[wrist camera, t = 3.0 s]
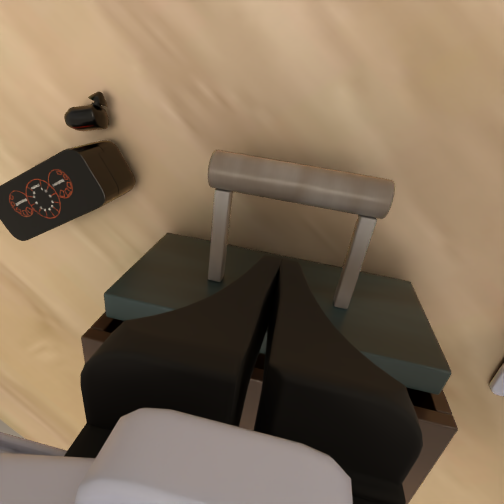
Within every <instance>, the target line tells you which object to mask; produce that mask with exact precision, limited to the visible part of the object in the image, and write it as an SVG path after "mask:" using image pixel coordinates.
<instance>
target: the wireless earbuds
mask: <svg viewBox="0 0 504 504" xmlns="http://www.w3.org/2000/svg"><path fill="white" fill-rule="evenodd" d="M88 98H89V99H91V100H93V101H94V103H92V105H88V106H79V107H72V108H70V109H69V110H68V111H67V112H66V114H65V116H64V117H65V122H66V124H67V125H68V126H69V127H71V128H73V129H75V130H78V131H90V130H99V129H106V128H107V127H108V125H109V119H108V115H107V112H106V110H105V109H104V108H103V107H102V106H101V105H103V106H106V107H107V103H106V101H105V98H104V96H103V94H102V93H101V92H96V93H94V94H92V95H91V96H89V97H88ZM134 185H135V178H134V175H133V173H132V171H131V170H130V168H129V166H128V164H127V163H126V161H125V159H124V157H123V156H122V154H121V152H120V150H119V149H118V147H117V146H116V145H115V144H114V143H113V142H111V141H107V140H102V141H98V142H94V143H90V144H86V145H82V146H78V147H74V148H70V149H66V150H64V151H62V152H60V153H58V154H56V155H55V156H53V157H51V158H49V159H47V160H46V161H44V162H42V163H40V164H38V165H37V166H35V167H33V168H31V169H30V170H28V171H26V172H24V173H22V174H21V175H19V176H17V177H15V178H13V179H12V180H10V181H8V182H6V183H4V184H3V185H1V186H0V220H1V221H2V222H3V224H4V225H5V226H6V228H7V229H8V230H9V232H10V233H11V234H12V235H13V236H14V237H15V238H16V239H18V240H21V241H26V240H29V239H31V238H33V237H35V236H38V235H40V234H42V233H44V232H46V231H49V230H51V229H53V228H55V227H57V226H60V225H62V224H64V223H66V222H68V221H71V220H73V219H75V218H77V217H79V216H82V215H84V214H86V213H88V212H90V211H93V210H95V209H97V208H99V207H101V206H103V205H105V204H107V203H109V202H110V201H112V200H114V199H116V198H118V197H119V196H121V195H123V194H125V193H127V192H129V191H130V190H131V189H132V188H133V187H134Z"/></svg>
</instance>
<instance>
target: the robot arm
mask: <svg viewBox="0 0 504 504" xmlns="http://www.w3.org/2000/svg"><path fill="white" fill-rule="evenodd" d="M267 328H268V332H267V342H266V353H265V363H264V374H263V382H262V389H261V395H260V400H259V405H258V410H257V415H256V420H255V425H254V430H253V431H252V430H248V429H245V428H241V427H239V425H240V420H241V416H242V412H243V407H244V403H245V399H246V394H247V390H248V386H249V383H250V379H251V376H252V373H253V370H254V367H255V364H256V361H257V358H258V355H259V352H260V349H261V346H262V343H263V340H264V337H265V334H266V331H267ZM489 386H490V389H491V391H492V392H493V393H494V394H496V395H500V396H504V363H503V364H502V366H501V367H500V369H499V370H498V372H497V373H496V375H495V376H494V378H493V379H492V381H491V382H490V384H489ZM81 390H82V396H83V402H84V408H85V414H86V420H87V424H86V425H85V426H84V428H83V429H82V431H81V432H80V434H79V435H78V437H77V438H76V439H75V441H74V442H73V444H72V445H71V447H70V448H69V450H68V451H66V450H62V449H59V448H55V447H52V446H48V445H45V444H41V443H38V442H34V441H30V440H27V439H23V438H20V437H16V436H13V435H9V434H5V433H2V432H0V504H406V499H405V494H404V490H403V485H402V483H403V481H404V480H405V478H406V476H407V475H408V473H409V472H410V470H411V468H412V467H413V465H414V464H415V462H416V460H417V459H418V457H419V455H420V452H421V449H422V447H423V439H422V431H421V428H420V425H419V421H418V418H417V415H416V412H415V409H414V407H413V404H412V402H411V399H410V397H409V395H408V393H407V390H406V387H405V385H403V384H402V383H400V382H399V381H398V380H396V379H395V378H393V377H392V376H390V375H389V374H388V373H386V372H385V371H383V370H382V369H381V368H379V367H378V366H376V365H375V364H374V363H373V362H371V361H370V360H369V359H368V358H367V357H366V356H364V355H363V354H362V353H361V352H360V351H358V350H357V349H356V348H355V347H354V346H353V345H352V344H351V343H350V342H349V341H348V340H347V339H346V338H345V337H344V336H343V335H342V334H341V333H340V332H339V331H338V330H337V328H336V327H335V326H334V325H333V324H332V322H331V321H330V320H329V319H328V317H327V316H326V315H325V313H324V312H323V310H322V309H321V307H320V305H319V304H318V302H317V301H316V299H315V297H314V295H313V293H312V291H311V289H310V287H309V285H308V283H307V281H306V278H305V276H304V273H303V271H302V267H301V264H300V263H299V262H298V261H293V260H288V259H283V258H278V257H274V256H269V255H264V256H263V257H261V258H260V260H259V261H258V262H257V263H256V264H255V265H253V266H252V267H251V268H250V269H249V270H248V271H247V272H245V273H244V274H243V275H242V276H241V277H239V278H238V279H237V280H235V281H234V282H232V283H231V284H229V285H228V286H227V287H225V288H223V289H222V290H220V291H218V292H217V293H215V294H213V295H211V296H209V297H207V298H205V299H202V300H200V301H198V302H195V303H193V304H190V305H188V306H185V307H182V308H179V309H176V310H172V311H169V312H165V313H161V314H157V315H153V316H147V317H142V318H137V319H132V320H125V321H124V322H123V323H122V324H121V325H120V326H119V327H118V328H117V329H116V330H115V331H113V332H112V333H111V335H110V336H109V337H108V338H107V339H106V340H105V341H104V342H103V344H102V345H101V346H100V347H99V348H98V350H97V351H96V352H95V353H94V354H93V355H92V357H91V358H90V359H89V360H88V361H87V363H86V364H85V366H84V368H83V370H82V372H81Z"/></svg>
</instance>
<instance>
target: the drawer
mask: <svg viewBox="0 0 504 504" xmlns="http://www.w3.org/2000/svg"><path fill="white" fill-rule="evenodd" d="M208 183H209V186H210V187H212V188H217V189H216V190H215V194H214V206H213V219H212V232H211V241H207V240H202V239H197V238H192V237H188V236H183V235H178V234H173V233H167V234H166V235H165V236H164V237H163V238H161V239H160V240H159V241H158V242H157V243H156V244H155V245H154V246H153V247H152V248H151V249H150V250H149V251H148V252H147V253H146V254H145V255H144V256H143V257H142V258H141V259H140V260H138V261H137V262H136V263H135V264H134V265H133V266H132V267H131V268H130V269H129V270H128V271H127V272H126V273H125V274H124V275H123V276H122V277H121V278H120V279H119V280H118V281H116V282H115V283H114V284H113V285H112V286H111V287H110V288H109V289H108V290H107V291H106V292H105V293H104V300H105V310H106V316H107V317H109V318H113V319H118V320H122V321H125V320H132V319H137V318H142V317H147V316H153V315H157V314H161V313H165V312H169V311H172V310H176V309H179V308H182V307H185V306H188V305H190V304H193V303H195V302H198V301H200V300H202V299H205V298H207V297H209V296H211V295H213V294H215V293H217V292H218V291H220V290H222V289H223V288H225V287H227V286H228V285H229V284H231V283H232V282H234V281H235V280H237V279H238V278H239V277H241V276H242V275H243V274H244V273H245V272H247V271H248V270H249V269H250V268H251V267H252V266H253V265H255V264H256V263H257V262H258V261H259V260H260V258H261V257H263V256H264V255H269V256H274V257H278V258H283V259H288V260H293V261H298V262H299V263H300V264H301V267H302V271H303V273H304V276H305V278H306V281H307V283H308V285H309V287H310V289H311V291H312V293H313V295H314V297H315V299H316V301H317V302H318V304H319V305H320V307H321V309H322V310H323V312H324V313H325V315H326V316H327V317H328V319H329V320H330V321H331V322H332V324H333V325H334V326H335V327H336V328H337V330H338V331H339V332H340V333H341V334H342V335H343V336H344V337H345V338H346V339H347V340H348V341H349V342H350V343H351V344H352V345H353V346H354V347H355V348H356V349H357V350H358V351H360V352H361V353H362V354H363V355H364V356H366V357H367V358H368V359H369V360H370V361H371V362H373V363H374V364H375V365H376V366H378V367H379V368H381V369H382V370H383V371H385V372H386V373H388V374H389V375H390V376H392V377H393V378H395V379H396V380H398V381H399V382H400V383H402V384H403V385H405V387H406V390H407V388H411V389H415V390H419V391H423V392H428V393H432V394H436V395H439V394H440V393H441V391H442V389H443V387H444V386H445V384H446V382H447V381H448V379H449V377H450V375H451V370H450V367H449V365H448V363H447V361H446V359H445V356H444V354H443V352H442V350H441V348H440V345H439V343H438V341H437V339H436V337H435V334H434V332H433V330H432V328H431V326H430V323H429V321H428V319H427V317H426V315H425V312H424V310H423V308H422V306H421V304H420V301H419V299H418V297H417V295H416V293H415V290H414V288H413V286H412V284H411V282H409V281H405V280H400V279H395V278H390V277H385V276H380V275H375V274H370V273H365V272H360V270H361V267H362V264H363V261H364V258H365V255H366V252H367V249H368V246H369V243H370V240H371V237H372V234H373V231H374V228H375V225H376V222H377V219H376V218H379V219H383V218H385V217H386V215H387V214H388V212H389V210H390V208H391V205H392V202H393V197H394V191H395V184H394V181H393V180H390V179H384V178H378V177H372V176H366V175H361V174H355V173H349V172H343V171H337V170H331V169H326V168H320V167H314V166H308V165H302V164H297V163H291V162H285V161H279V160H273V159H267V158H262V157H256V156H250V155H244V154H238V153H232V152H227V151H221V150H215V151H214V152H213V154H212V156H211V159H210V162H209V168H208ZM233 192H239V193H244V194H249V195H255V196H260V197H266V198H271V199H277V200H282V201H287V202H293V203H298V204H304V205H309V206H314V207H320V208H325V209H331V210H336V211H342V212H347V213H352V214H358V218H357V221H356V225H355V228H354V231H353V235H352V238H351V241H350V245H349V248H348V252H347V255H346V258H345V262H344V265H343V268H341V267H336V266H331V265H326V264H321V263H316V262H311V261H306V260H301V259H296V258H291V257H286V256H281V255H276V254H272V253H267V252H262V251H257V250H252V249H247V248H242V247H237V246H232V245H227V242H228V232H229V223H230V213H231V203H232V194H233ZM267 332H268V328H267V331H266V334H265V337H264V340H263V343H262V346H261V349H260V352H259V355H258V358H257V361H256V364H255V367H254V368H258V369H263V370H264V363H265V353H266V342H267ZM407 393H408V391H407ZM408 395H409V394H408Z"/></svg>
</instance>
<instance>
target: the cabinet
mask: <svg viewBox="0 0 504 504" xmlns="http://www.w3.org/2000/svg"><path fill="white" fill-rule="evenodd" d="M123 322H124V321H122V320H118V319H113V318H109V317H107V316H106V312H105V313H104V314H103V315H102V316H101V317H100V318H99V319H98V320H97V321H96V322H95V323H94V324H93V325H92V326H91V328H90V329H88V330H87V331H86V333H85V334H84V335H83V336H82V337H81V340H82V346H83V353H84V360H85V364H86V363H87V361H88V360H89V359H90V358H91V357H92V355H93V354H94V353H95V352H96V351H97V350H98V348H99V347H100V346H101V345H102V344H103V342H104V341H105V340H106V339H107V338H108V337H109V336H110V335H111V333H112V332H113V331H115V330H116V329H117V328H118V327H119V326H120V325H121V324H122V323H123ZM263 374H264V370H263V369H258V368H254V370H253V373H252V376H251V379H250V383H249V386H248V390H247V394H246V399H245V403H244V407H243V412H242V416H241V420H240V425H239V427H241V428H245V429H248V430H252V431H253V430H254V425H255V420H256V415H257V410H258V405H259V400H260V395H261V389H262V382H263ZM407 391H408V394H409V397H410V399H411V402H412V404H413V407H414V409H415V412H416V415H417V418H418V421H419V425H420V428H421V431H422V439H423V447H422V449H421V452H420V455H419V457H418V459H417V460H416V462H415V464H414V465H413V467H412V468H411V470H410V472H409V473H408V475H407V476H406V478H405V480H404V481H403V483H402V485H403V490H404V494H405V499H406V504H408V503H409V502H410V500H411V499H412V497H413V496H414V494H415V493H416V491H417V490H418V488H419V487H420V485H421V484H422V482H423V481H424V479H425V478H426V476H427V475H428V473H429V472H430V471H431V469H432V468H433V466H434V465H435V463H436V462H437V460H438V459H439V457H440V456H441V454H442V453H443V451H444V450H445V448H446V447H447V445H448V444H449V442H450V441H451V439H452V438H453V436H454V435H455V433H456V432H457V430H458V428H457V425H456V423H455V420H454V418H453V416H452V412H451V410H450V407H449V405H448V402H447V400H446V397H445V395H444V392H443V390H442V391H441V393H440V394H439V395H436V394H432V393H428V392H423V391H419V390H415V389H411V388H407Z"/></svg>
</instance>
